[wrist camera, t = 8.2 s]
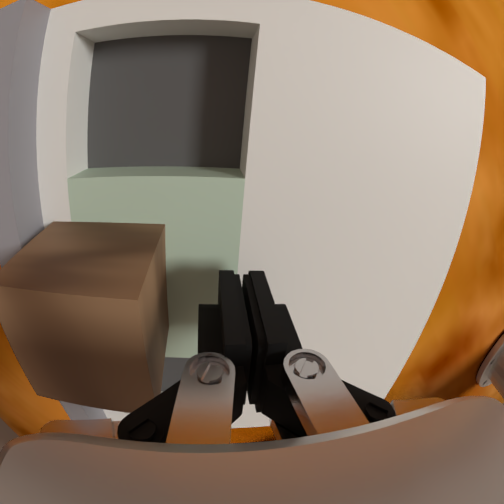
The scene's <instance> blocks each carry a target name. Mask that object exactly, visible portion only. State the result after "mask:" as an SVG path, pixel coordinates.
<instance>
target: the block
mask: <svg viewBox="0 0 504 504" xmlns="http://www.w3.org/2000/svg"><path fill="white" fill-rule="evenodd" d="M0 323H1V325H2V328H3V330H4V332H5V334H6V337H7V339H8V341H9V343H10V345H11V348H12V350H13V352H14V354H15V356H16V358H17V360H18V362H19V364H20V366H21V367H22V369H23V371H24V373H25V375H26V377H27V378H28V380H29V382H30V384H31V385H32V387H33V389H34V390H35V392H36V394H37V395H39V396H43V397H47V398H51V399H55V400H59V401H64V402H68V403H73V404H77V405H83V406H88V407H93V408H99V409H105V410H112V411H119V412H126V413H131V412H133V411H134V410H136V409H137V408H139V407H141V406H142V405H144V404H145V403H147V402H148V401H150V400H151V399H153V398H154V397H156V396H157V395H159V394H160V393H161V387H162V377H163V369H164V360H165V352H166V345H167V337H168V330H169V318H168V302H167V282H166V247H165V224H146V223H112V222H62V221H53V222H52V223H51V224H50V225H49V226H47V227H46V228H45V229H44V230H43V231H41V232H40V233H39V234H38V235H37V236H36V237H34V238H33V239H32V240H31V241H30V242H29V243H28V244H27V245H25V246H24V247H23V248H22V249H21V250H20V251H19V252H18V253H17V254H16V255H15V256H14V257H12V258H11V259H10V260H9V261H8V262H7V263H6V264H5V265H4V266H3V267H2V268H1V269H0Z"/></svg>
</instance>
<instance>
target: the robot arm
mask: <svg viewBox="0 0 504 504" xmlns="http://www.w3.org/2000/svg"><path fill="white" fill-rule="evenodd" d="M476 381H477V383H478V384H479V385H480V386H481V387H485V386H488V385H490V384H491V383H492V384H493V385H494V386H495V388H496V389H497V390H498V392H499V393H500V394H501V396H502V397H503V398H504V334H503V335H502V336H501V337H500V339H499V340H498V341H497V343H496V344H495V345H494V347H493V348H492V349H491V351H490V352H489V354H488V355H487V357H486V358H485V360H484V361H483V363H482V365H481V367H480V369H479V371H478V374H477V378H476ZM246 394H248V400H249V404H255V409H256V413H258V412H261V413H262V414H263V415H265V416H267V417H268V418H270V419H269V422H270V426H271V428H272V431H273V433H274V436H275V438H276V440H275V441H265V442H252V443H236V444H230V437H231V424H232V423H233V422H235V421H236V420H237V419H238V418H239V417H240V416H241V415H242V411H243V405H245V402H246ZM0 504H504V406H503V405H502V404H501V403H500V402H499V401H498V400H496V399H494V398H491V397H486V396H466V397H458V398H453V399H449V400H444V399H441V398H437V397H432V398H421V399H406V400H392V402H391V403H389V402H387V401H386V400H384V399H382V398H380V397H378V396H376V395H373V394H371V393H369V392H367V391H365V390H362V389H360V388H358V387H356V386H354V385H352V384H350V383H347V382H345V381H343V380H341V379H340V377H339V376H338V374H337V373H336V371H335V370H334V368H333V367H332V365H331V364H330V362H329V361H328V359H327V358H326V357H325V356H324V355H322V354H321V353H319V352H317V351H314V350H311V349H303V348H302V345H301V343H300V340H299V337H298V335H297V332H296V330H295V327H294V324H293V322H292V319H291V317H290V314H289V311H288V309H287V306H286V305H285V304H275V302H274V299H273V296H272V293H271V290H270V287H269V284H268V281H267V278H266V276H265V273H264V271H249V272H248V274H243V281H242V286H241V280H240V275H239V274H234V270H219V280H218V304H199V308H198V354H196V355H194V356H192V357H191V358H190V359H189V360H188V361H187V362H186V364H185V366H184V369H183V373H182V377H181V380H179V381H178V382H176V383H175V384H173V385H172V386H171V387H169V388H168V389H166V390H165V391H163V392H162V393H160V394H159V395H157V396H156V397H154V398H153V399H151V400H150V401H148V402H147V403H145V404H144V405H142V406H141V407H139V408H137V409H136V410H134V411H133V412H131V413H130V414H128V415H127V416H126V417H124V418H123V419H122V420H121V421H112V419H111V418H109V419H89V420H54V421H50V422H48V423H46V424H44V426H43V427H42V428H41V430H40V433H36V434H30V435H25V436H21V437H18V438H15V439H13V440H11V441H10V442H8V443H7V444H6V445H5V446H4V447H3V448H2V450H1V451H0Z"/></svg>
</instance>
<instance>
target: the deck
mask: <svg viewBox="0 0 504 504" xmlns="http://www.w3.org/2000/svg"><path fill="white" fill-rule="evenodd" d="M485 91H486V78H485V77H484V76H482V75H481V74H479V73H478V72H476V71H475V70H473V69H472V68H470V67H469V66H467V65H465V64H464V63H462V62H461V61H459V60H457V59H456V58H454V57H452V56H450V55H449V54H447V53H445V52H443V51H442V50H440V49H438V48H436V47H434V46H432V45H430V44H428V43H426V42H424V41H422V40H420V39H418V38H416V37H414V36H412V35H410V34H408V33H405V32H403V31H401V30H399V29H396V28H394V27H392V26H389V25H387V24H384V23H382V22H379V21H376V20H374V19H371V18H368V17H365V16H363V15H360V14H357V13H354V12H350V11H347V10H344V9H341V8H337V7H334V6H330V5H326V4H322V3H319V2H314V1H310V0H82V1H78V2H74V3H71V4H67V5H63V6H60V7H57V8H53V9H50V8H48V7H46V6H44V5H42V4H40V3H38V2H36V1H34V0H19V1H16V2H14V3H12V4H10V5H8V6H5V7H3V8H1V9H0V265H1V268H2V267H3V266H4V265H5V264H6V263H7V262H8V261H9V260H10V259H11V258H12V257H14V256H15V255H16V254H17V253H18V252H19V251H20V250H21V249H22V248H23V247H24V246H25V245H27V244H28V243H29V242H30V241H31V240H32V239H33V238H34V237H36V236H37V235H38V234H39V233H40V232H41V231H43V230H44V229H45V228H46V227H47V226H49V225H50V224H51V223H52V222H53V221H62V222H112V223H146V224H165V247H166V282H167V302H168V318H169V330H168V337H167V345H166V352H165V360H164V369H163V377H162V387H161V393H162V392H163V391H165V390H166V389H168V388H169V387H171V386H172V385H173V384H175V383H176V382H178V381H179V380H181V377H182V373H183V369H184V366H185V364H186V362H187V361H188V360H189V359H190V358H191V357H192V356H194V355H196V354H198V308H199V304H218V280H219V270H234V274H239V275H240V280H241V286H242V281H243V274H248V272H249V271H264V273H265V276H266V278H267V281H268V284H269V287H270V290H271V293H272V296H273V299H274V302H275V304H285V305H286V306H287V309H288V311H289V314H290V317H291V319H292V322H293V324H294V327H295V330H296V332H297V335H298V337H299V340H300V343H301V345H302V348H303V349H311V350H314V351H317V352H319V353H321V354H322V355H324V356H325V357H326V358H327V359H328V361H329V362H330V364H331V365H332V367H333V368H334V370H335V371H336V373H337V374H338V376H339V377H340V379H341V380H343V381H345V382H347V383H350V384H352V385H354V386H356V387H358V388H360V389H362V390H365V391H367V392H369V393H371V394H373V395H376V396H378V397H380V398H382V399H384V398H385V397H386V395H387V393H388V392H389V390H390V389H391V387H392V385H393V384H394V382H395V380H396V379H397V377H398V375H399V374H400V372H401V370H402V368H403V367H404V365H405V363H406V361H407V359H408V358H409V356H410V354H411V352H412V350H413V348H414V346H415V344H416V342H417V341H418V339H419V337H420V335H421V333H422V330H423V328H424V326H425V324H426V322H427V320H428V318H429V316H430V313H431V311H432V309H433V307H434V304H435V302H436V300H437V297H438V295H439V293H440V290H441V288H442V285H443V283H444V280H445V278H446V275H447V272H448V270H449V267H450V264H451V261H452V258H453V256H454V253H455V250H456V247H457V244H458V240H459V237H460V234H461V231H462V227H463V224H464V220H465V217H466V213H467V209H468V205H469V201H470V197H471V193H472V188H473V184H474V179H475V174H476V169H477V163H478V157H479V151H480V145H481V137H482V129H483V120H484V108H485ZM60 403H61V405H62V406H63V408H64V409H65V411H66V413H67V414H68V416H69V417H70V419H71V420H89V419H109V418H111V419H112V421H121V420H122V419H123V418H124V417H126V416H127V415H128V414H130V413H126V412H119V411H112V410H105V409H99V408H93V407H88V406H83V405H77V404H73V403H68V402H64V401H60ZM269 419H270V418H268V417H267V416H265V415H263V414H262V413H261V412H258V413H256V409H255V404H249V400H248V394H246V402H245V405H243V411H242V415H241V416H240V417H239V418H238V419H237V420H236V421H235V422H233V423H232V424H231V428H245V427H261V426H270V422H269Z"/></svg>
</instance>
